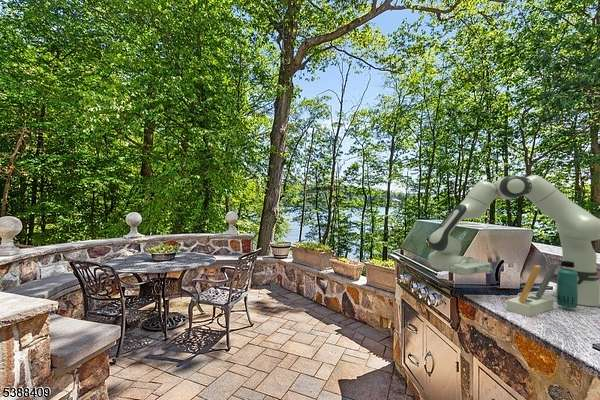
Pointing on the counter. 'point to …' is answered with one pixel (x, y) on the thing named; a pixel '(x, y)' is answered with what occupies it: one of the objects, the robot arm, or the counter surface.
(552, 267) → the bar
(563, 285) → the beverage bottle
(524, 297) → the orange bar
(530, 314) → the cream base with pads
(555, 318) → the counter surface
